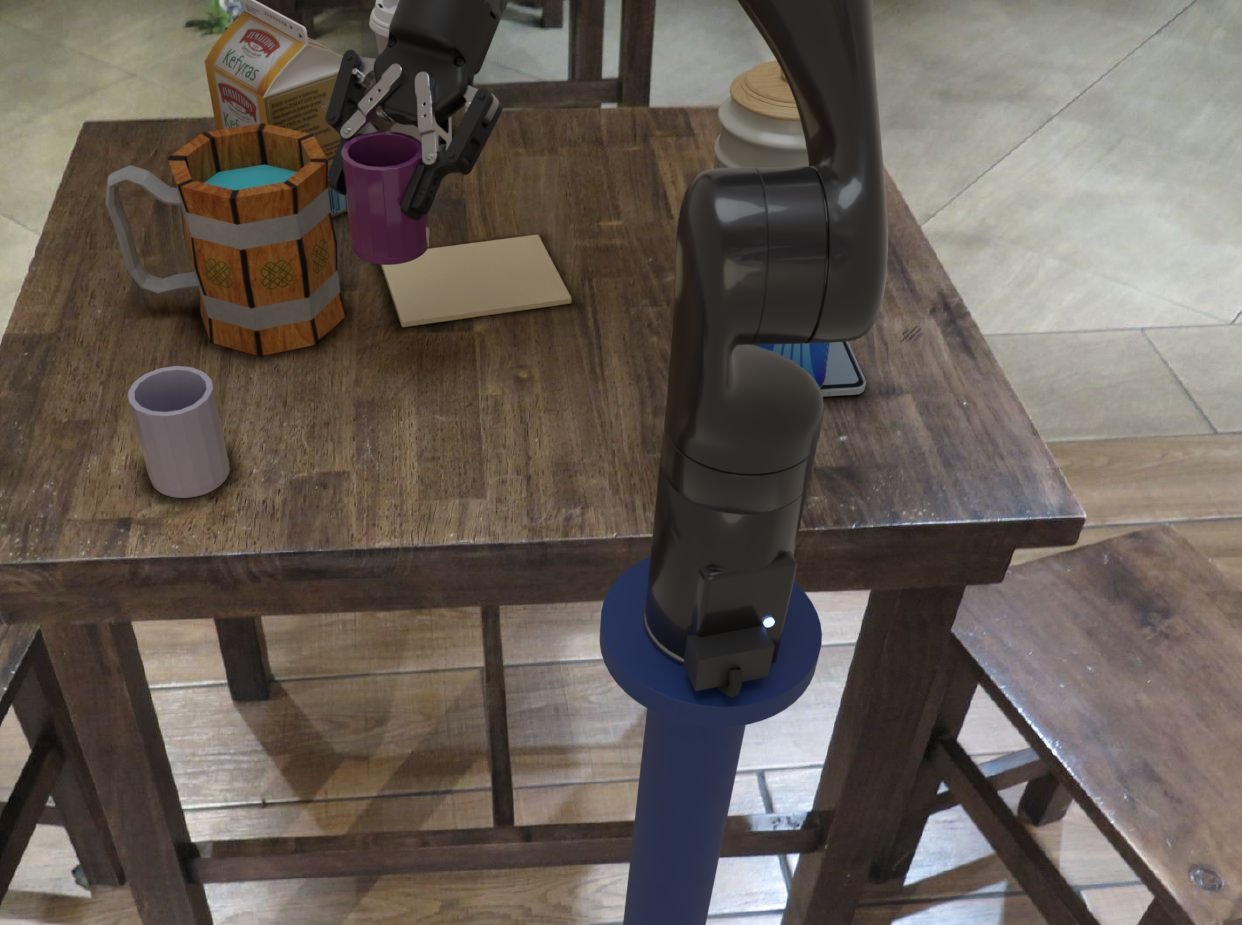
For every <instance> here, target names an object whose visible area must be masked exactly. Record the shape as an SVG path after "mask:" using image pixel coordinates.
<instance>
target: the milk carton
mask: <svg viewBox="0 0 1242 925" xmlns="http://www.w3.org/2000/svg"><path fill="white" fill-rule="evenodd" d="M242 3H243V9H244V10H243V11H242V13H241V14H240V15H239V16H238V17H237V18H235V20H234V21H233V22H232V23H231V24H230V25H229V26H228V27H227V29H225V31H224V32H223V33H222V34H221V36H220V37H219V38H218V39H217V40H216V42H215V43H214V45H213V46H212V48H211V49H210V51H209V53H208V54H207V56H206V57H205V59H204V67H205V73H206V80H207V84H208V90H209V95H210V96H209V97H210V100H211V108H212V113H213V118H214V124H215V131H216V130H222V129H228V128H235V127H241V126H247V125H254V124H260V123H264V124H268V125H273V126H278V127H282V128H287V129H291V130H296V131H300V132H305V133H310V134H313V135H314V137H315V138H316V140H317V142H318V144H319V145H320V147H321V149H322V151H323V153H324V154H325V156H326V158H327V160H328V173H329V169H330V167H331V165H332V162H333V160H334V157H335V154H336V151H337V149H338V146H339V144H340V135H339V133H338V132H337V131H336V130H335V129H334V128H333V127H331V126H330V125H329V124H328V123H327V122H326V119H325V117H326V113H327V110H328V107H329V103H330V100H331V96H332V93H333V89H334V86H335V82H336V79H337V75H338V72H339V68H340V65H341V61H342V58H343V55H342V54H340V53H338V52H337V51H334V50H333V49H331V48H329V47H327V46H325V45H323V44H321V43H320V42H318V41H316V40H314V39H312V38H311V37H309V35H308V30H307V28H306V26H304V25H302V24H300V23H299V22H297V21H295V20H293V19H291V18H289V17H287V16H285V15H283V14H282V13H280V12H278V11H276V10H275V9H272V8H271V7H269V6H267V5H265V4H264V3H261V2H259V1H257V0H242ZM329 181H330V179H328V195H329V203H330V212H331V217H332V218H334V217H337V216H339V215H342V214H344V213H348V211H347V202H346V196H345V195H342V194H339V193H338V192H336V191H335V190H333V189H332V188H331V187H330V185H329Z"/></svg>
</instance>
